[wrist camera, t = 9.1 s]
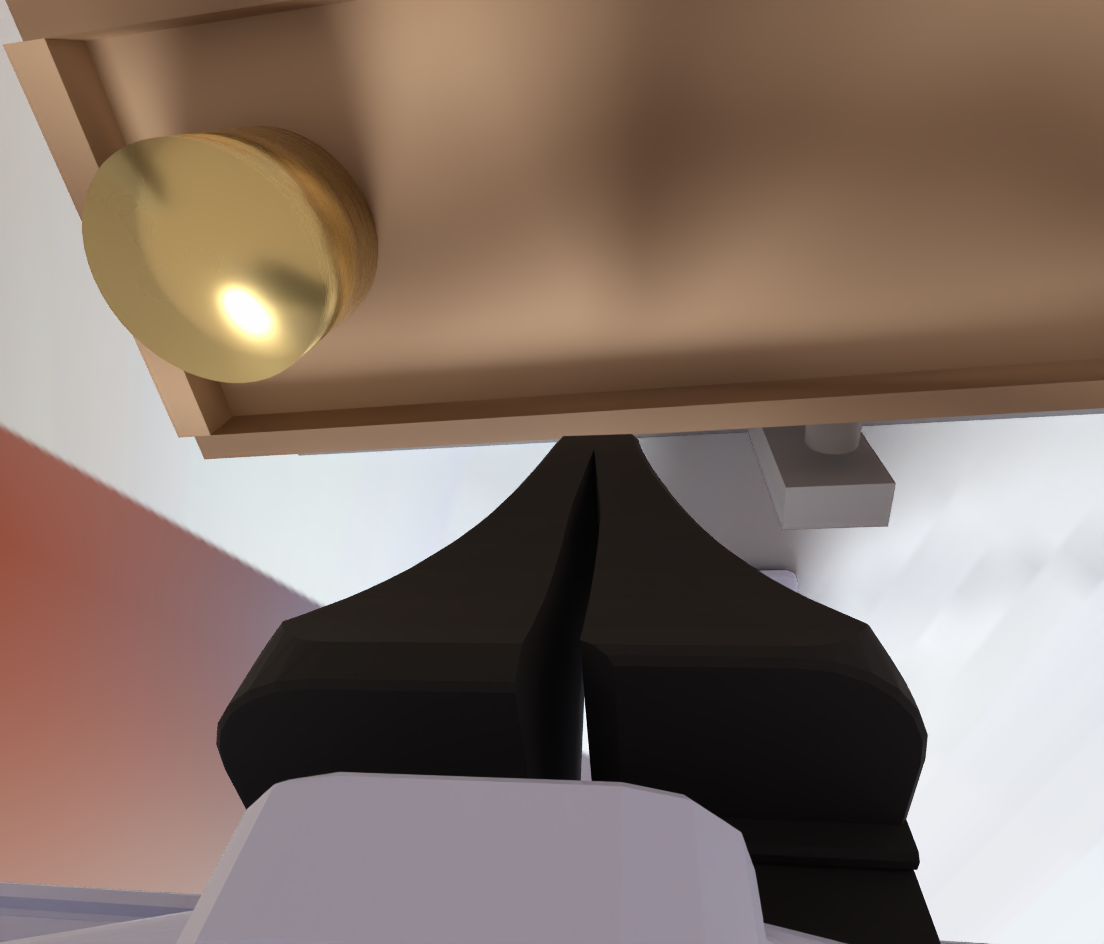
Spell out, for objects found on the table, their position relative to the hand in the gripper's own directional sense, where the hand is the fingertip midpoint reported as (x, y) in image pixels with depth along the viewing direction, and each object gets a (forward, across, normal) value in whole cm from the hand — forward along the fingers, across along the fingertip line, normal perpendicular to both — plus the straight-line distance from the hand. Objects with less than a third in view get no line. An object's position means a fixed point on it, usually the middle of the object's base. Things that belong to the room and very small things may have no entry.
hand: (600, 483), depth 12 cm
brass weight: (+3, +6, -4) cm, 8 cm away
